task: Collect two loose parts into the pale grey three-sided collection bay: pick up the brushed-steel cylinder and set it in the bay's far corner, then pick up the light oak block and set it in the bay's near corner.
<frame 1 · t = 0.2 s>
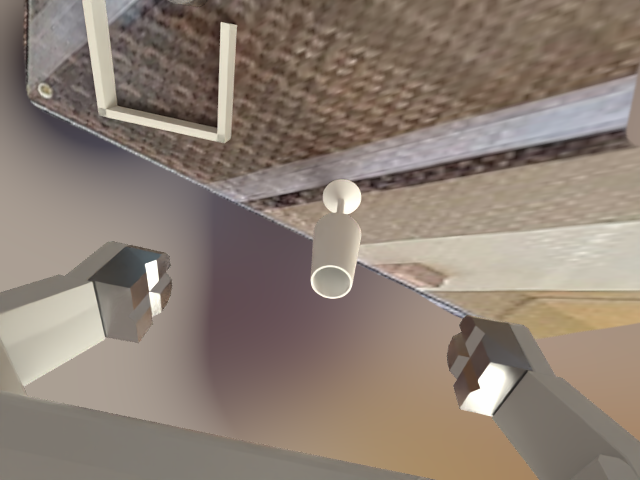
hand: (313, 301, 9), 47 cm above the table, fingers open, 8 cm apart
champagne flute: (341, 197, 59), on the table
bay: (169, 71, 51), on the table
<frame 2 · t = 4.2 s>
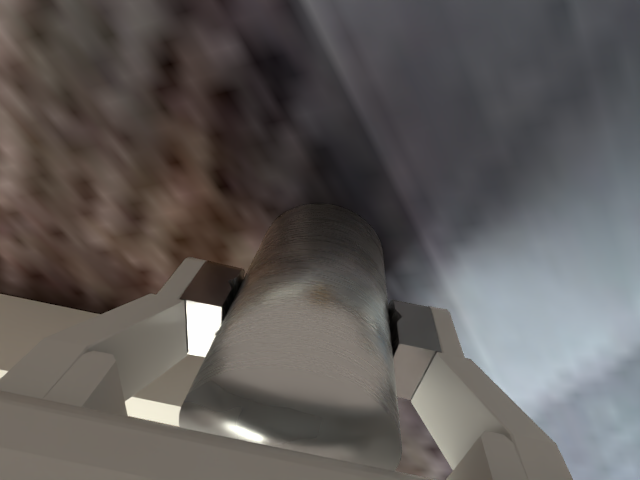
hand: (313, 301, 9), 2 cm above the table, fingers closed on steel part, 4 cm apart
steel part: (321, 258, 11), on the table, touching gripper
when the fingers open (4 cm above the table, at t = 8.9 s): steel part drops 1 cm, on the table.
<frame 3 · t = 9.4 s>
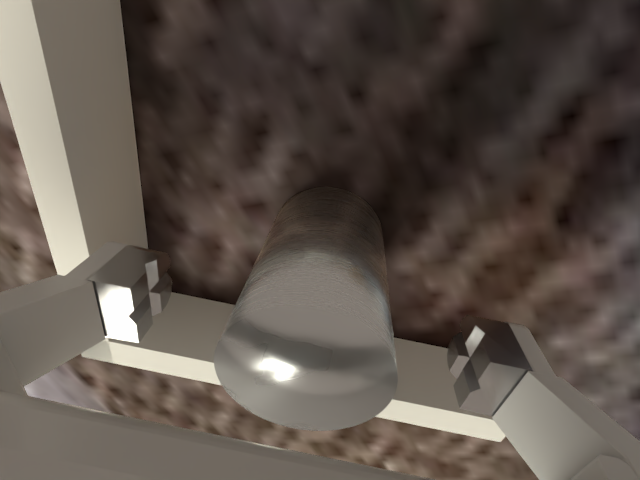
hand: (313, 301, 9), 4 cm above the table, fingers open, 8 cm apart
bay: (351, 108, 10), on the table
steel part: (327, 237, 12), on the table
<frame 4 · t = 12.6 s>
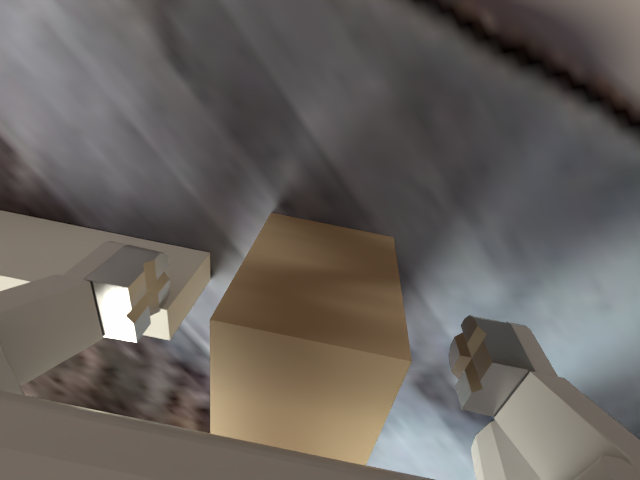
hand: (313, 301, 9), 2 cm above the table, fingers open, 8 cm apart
oak block: (322, 273, 12), on the table
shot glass: (535, 443, 15), on the table
bay: (56, 385, 17), on the table
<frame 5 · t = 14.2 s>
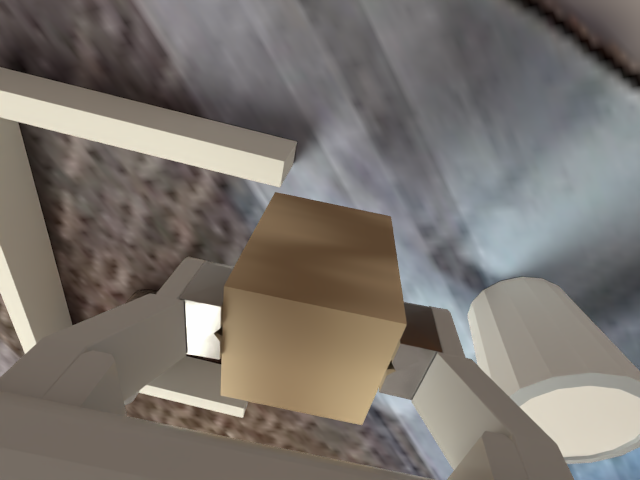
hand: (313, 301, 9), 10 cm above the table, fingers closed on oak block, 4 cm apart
oak block: (322, 252, 13), point 6 cm above the table, touching gripper
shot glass: (515, 311, 21), on the table
bay: (150, 261, 22), on the table
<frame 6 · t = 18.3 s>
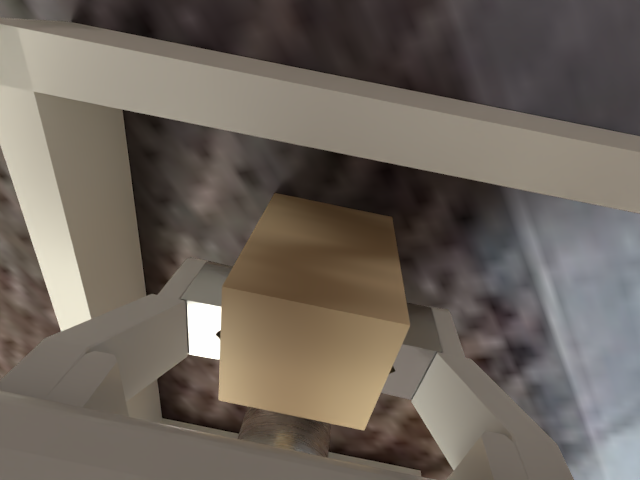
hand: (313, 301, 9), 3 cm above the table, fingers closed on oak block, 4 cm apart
oak block: (322, 253, 12), on the table, touching gripper
bay: (303, 333, 14), on the table
steel part: (292, 397, 17), on the table
when the fingers open (3 cm above the table, at t = 18.4 s): oak block stays where it is, on the table.
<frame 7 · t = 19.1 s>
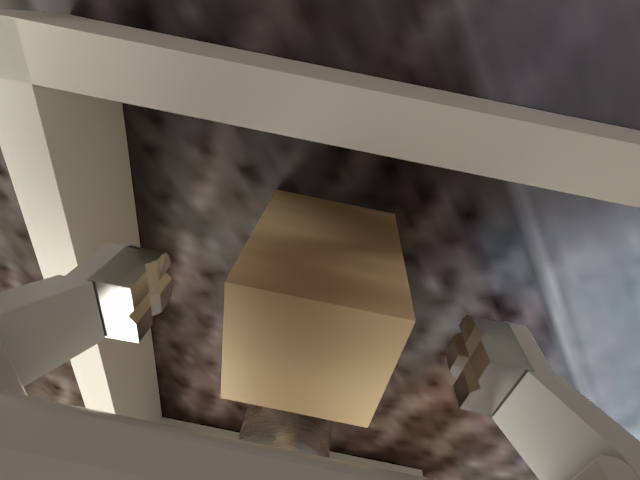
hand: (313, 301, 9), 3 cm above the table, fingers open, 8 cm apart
oak block: (324, 250, 12), on the table
bay: (304, 331, 14), on the table
steel part: (293, 396, 17), on the table
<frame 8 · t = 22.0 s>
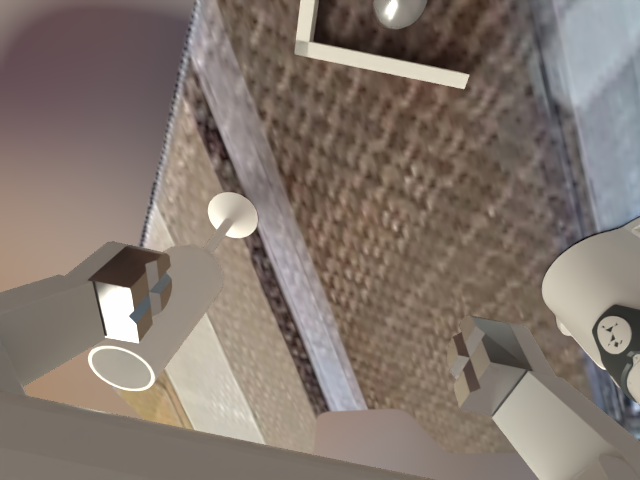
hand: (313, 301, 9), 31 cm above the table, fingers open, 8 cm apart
champagne flute: (233, 215, 44), on the table
steel part: (394, 4, 31), on the table
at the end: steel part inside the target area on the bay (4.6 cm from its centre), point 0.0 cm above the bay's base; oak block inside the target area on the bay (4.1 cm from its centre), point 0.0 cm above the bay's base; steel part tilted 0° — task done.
